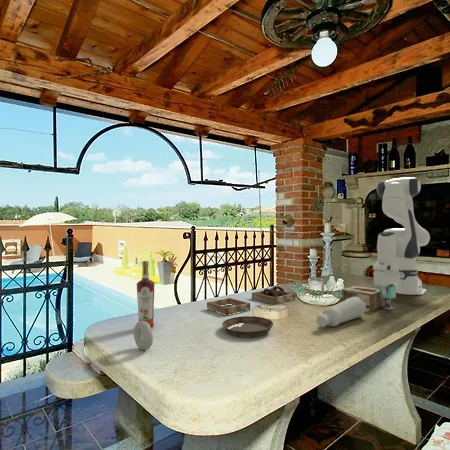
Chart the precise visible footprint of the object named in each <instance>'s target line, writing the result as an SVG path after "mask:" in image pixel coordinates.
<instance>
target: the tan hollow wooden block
mask: <svg viewBox="0 0 450 450" xmlns="http://www.w3.org/2000/svg"><path fill="white" fill-rule="evenodd" d="M342 295H343V297H342ZM358 295H363V296H368V297H369V300H368V302H369V304H368V305H369V311H374V310H377V309H380V308H383V306H385V298H383V297H380V288H373V287H366V286H360V285H353V286H348V287H345V288H341V302H343V301H345V300H346V299H348V298H351V297H358V298H359V296H358Z"/></svg>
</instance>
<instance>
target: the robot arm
mask: <svg viewBox="0 0 450 450" xmlns="http://www.w3.org/2000/svg"><path fill="white" fill-rule="evenodd" d="M421 186H422V185H421V182H420V179H418V178H417V177H411V176H410V177H398V178H392V179H388V180H386V179H384V180H381V181H379V182H378V183H377V186H376V192H377V195H378V197H379V198H381V199H382V201H381V208H382V212H383V214H384V215H386V216H387V217H388V218H391V219H393V221H395V222H396V223H398V224H400V225H402V228H398V227H396V228H395V227H394V228H387V229H384V230H383V232H380V233H378V236H377V243H376V252H377V259H376V262H375V264H373V265H372V270H374V271H373V284H374V286H376V287H379V288H380V287H381V290H382V294H384V295H385V294H387V291H386V285H392V286H396V294H400V295H407V296H408V295H409V296H410V295H413V296H414V295H418V296H419V295H421V296H423V295H424V294H425V293H426V292H427V289H426V288H423V284H422V283H423V281H422V280H421V279H420V278H419V276H418V273H419V269H416V268H417V266H416V258H417V257H418V256H419V255H420V254H421V253H420V252H421V247H424V246H426V245H428V244H429V242H430V240H431V235H430V233H429V231H428V230H426V229H425V228H423V227H422V226H421V225H420V224H419V223H418V222H417V220H416V217H415V213H414V201H413V198H414V197H416V196H417V195H418V194H420V191H421V188H422V187H421Z"/></svg>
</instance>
